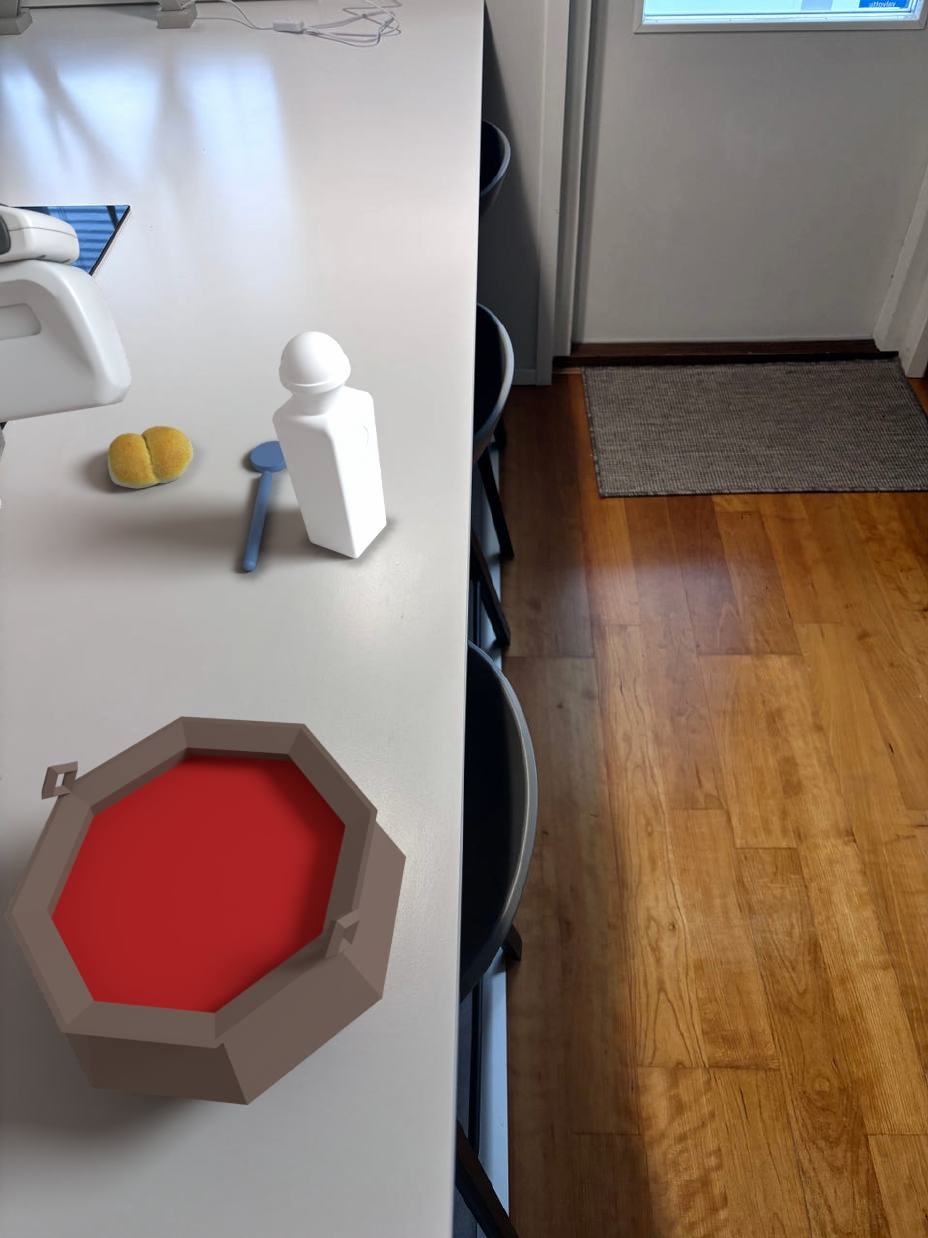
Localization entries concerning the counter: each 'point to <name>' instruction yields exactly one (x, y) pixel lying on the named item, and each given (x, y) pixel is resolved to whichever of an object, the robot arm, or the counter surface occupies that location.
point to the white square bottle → (330, 446)
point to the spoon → (262, 495)
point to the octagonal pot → (207, 908)
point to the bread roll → (149, 457)
